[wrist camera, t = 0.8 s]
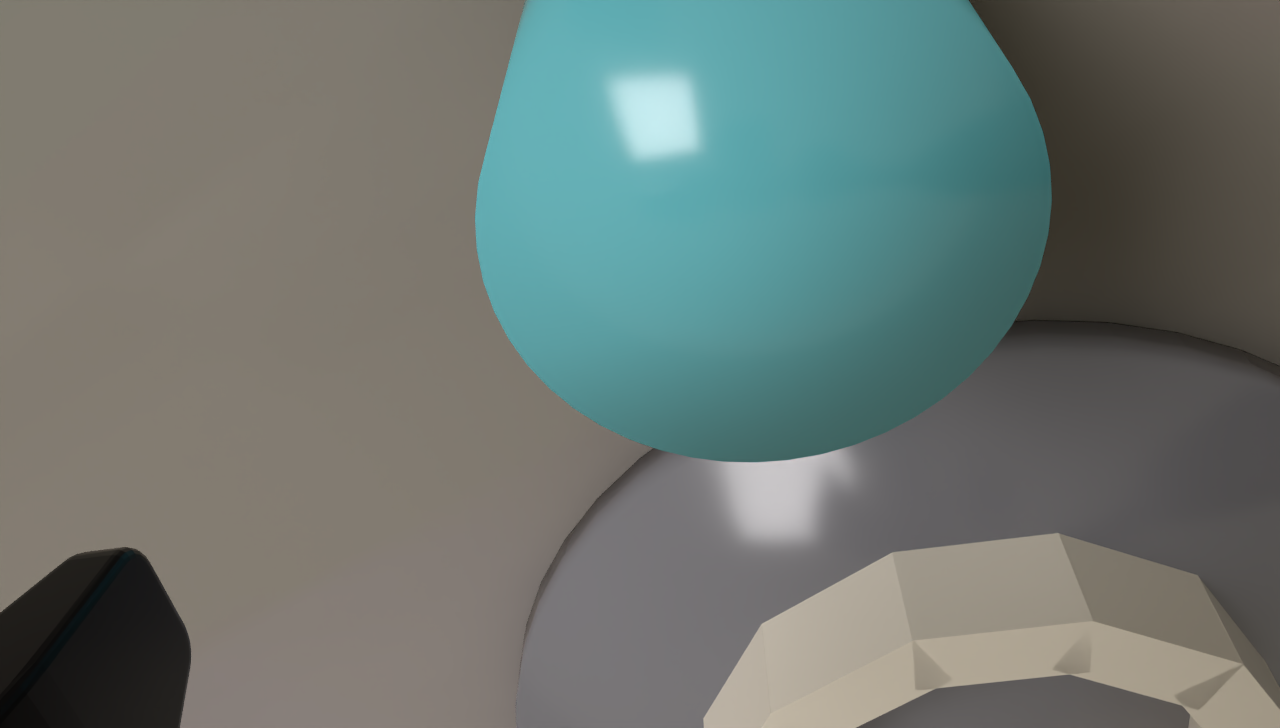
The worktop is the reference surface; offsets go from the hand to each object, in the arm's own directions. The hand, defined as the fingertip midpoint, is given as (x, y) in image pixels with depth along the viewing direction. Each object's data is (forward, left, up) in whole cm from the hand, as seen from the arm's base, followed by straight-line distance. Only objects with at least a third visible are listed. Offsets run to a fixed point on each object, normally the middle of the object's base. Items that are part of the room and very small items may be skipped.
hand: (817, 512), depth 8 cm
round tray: (-3, +15, -11) cm, 19 cm away
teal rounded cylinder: (0, 0, -11) cm, 11 cm away
